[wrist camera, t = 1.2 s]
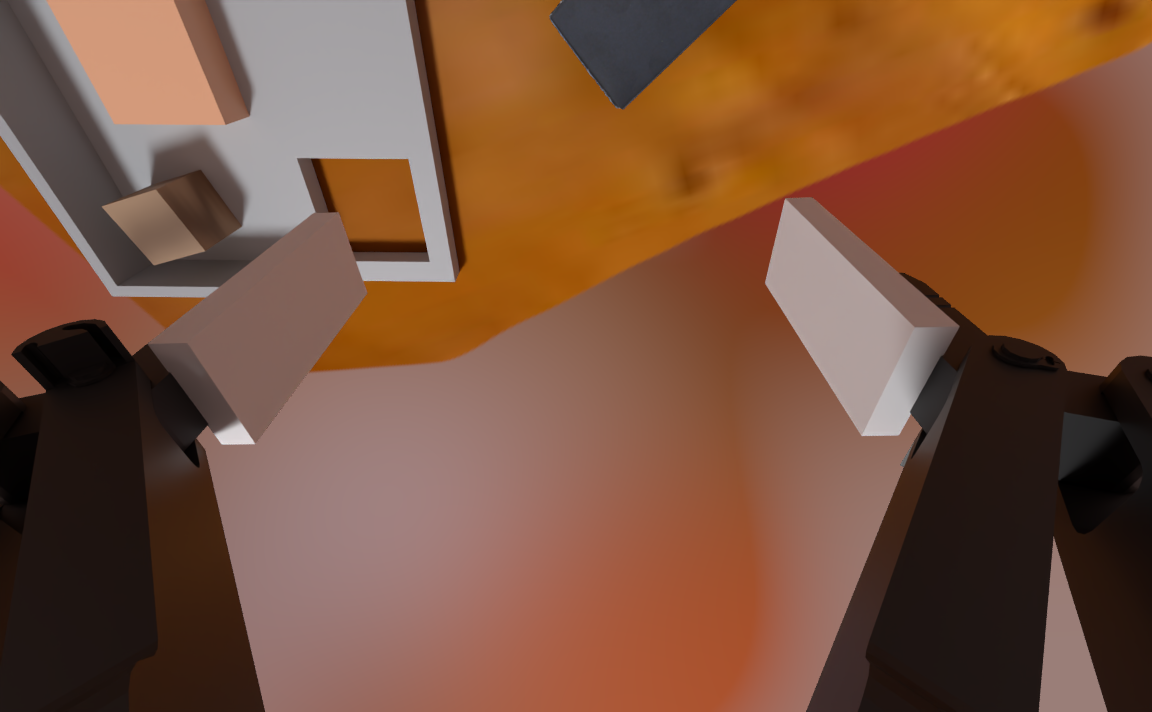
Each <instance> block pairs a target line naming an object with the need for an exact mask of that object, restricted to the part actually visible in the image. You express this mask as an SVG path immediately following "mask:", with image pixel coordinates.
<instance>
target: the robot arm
mask: <svg viewBox="0 0 1152 712" xmlns="http://www.w3.org/2000/svg"><path fill="white" fill-rule="evenodd" d="M765 284H766V285H767V287H768V288H769V290H770V292H771V293H772V295H773V296H774V298H775V299H776V301H777V303H778V304H779V306H780V308H781V309H782V311H783V312H784V314H785V315H786V317H787V319H788V320H789V322H790V323H791V325H792V326H793V328H794V330H795V331H796V333H797V334H798V336H799V338H800V339H801V341H802V342H803V344H804V346H805V347H806V349H807V350H808V352H809V353H810V355H811V357H812V358H813V360H814V361H815V363H816V364H817V366H818V368H819V369H820V371H821V372H822V374H823V376H824V377H825V379H826V380H827V382H828V383H829V385H830V387H831V388H832V390H833V391H834V393H835V395H836V396H837V397H838V399H839V401H840V402H841V404H842V406H843V407H844V409H845V410H846V412H847V414H848V415H849V417H850V418H851V420H852V421H853V423H854V425H855V426H856V428H857V429H858V431H859V432H860V434H861V436H883V435H884V436H888V435H899V434H900V432H901V431H902V428H903V427H904V425H905V423H906V422H907V419H908V418H909V416H910V414H912V416H913V417H914V418H915V419H916V421H917V422H918V423H919V425H920V426H921V427H922V429H921V431H920V432H919V434H918V436H917V438H916V439H915V441H914V442H913V444H912V446H911V447H910V449H909V451H908V453H907V454H906V456H905V458H904V459H903V461H902V463H901V464H900V465H901V466H903V467H904V468H903V471H902V473H901V476H900V478H899V481H898V484H897V486H896V488H895V491H894V493H893V496H892V498H891V501H890V503H889V506H888V508H887V511H886V513H885V516H884V518H883V521H882V523H881V526H880V528H879V531H878V533H877V536H876V538H875V541H874V543H873V546H872V548H871V551H870V553H869V556H868V558H867V561H866V563H865V566H864V568H863V571H862V573H861V576H860V578H859V581H858V583H857V586H856V588H855V591H854V593H853V596H852V598H851V601H850V603H849V606H848V608H847V611H846V613H845V616H844V618H843V621H842V623H841V626H840V628H839V631H838V633H837V636H836V638H835V641H834V643H833V646H832V648H831V651H830V654H829V656H828V658H827V661H826V663H825V666H824V668H823V671H822V673H821V676H820V678H819V681H818V683H817V686H816V688H815V691H814V693H813V696H812V698H811V701H810V703H809V706H808V708H807V711H806V712H1039V701H1040V688H1041V677H1042V665H1043V653H1044V642H1045V630H1046V618H1047V606H1048V595H1049V583H1050V571H1051V559H1052V548H1053V536H1054V539H1055V542H1056V545H1057V549H1058V552H1059V555H1060V558H1061V562H1062V565H1063V568H1064V571H1065V575H1066V578H1067V581H1068V584H1069V588H1070V591H1071V594H1072V597H1073V601H1074V604H1075V607H1076V610H1077V614H1078V617H1079V620H1080V623H1081V626H1082V630H1083V633H1084V636H1085V640H1086V643H1087V646H1088V650H1089V652H1090V656H1091V659H1092V663H1093V666H1094V669H1095V672H1096V675H1097V679H1098V682H1099V685H1100V688H1101V692H1102V695H1103V698H1104V702H1105V705H1106V708H1107V711H1108V712H1152V357H1147V356H1133V357H1127V358H1125V359H1124V360H1122V361H1121V362H1120V363H1119V364H1118V365H1117V367H1116V368H1115V369H1114V370H1113V371H1112V372H1111V373H1110V375H1109V376H1108V377H1104V376H1097V375H1091V374H1085V373H1078V372H1072V371H1067V369H1066V366H1065V364H1064V363H1063V362H1062V361H1061V360H1060V359H1059V358H1058V357H1057V356H1056V355H1054V354H1053V353H1051V352H1049V351H1048V350H1046V349H1044V348H1042V347H1040V346H1038V345H1035V344H1033V343H1030V342H1027V341H1024V340H1021V339H1016V338H1012V337H1007V336H993V335H989V336H987V335H986V334H985V333H984V332H982V331H981V330H980V329H979V328H978V327H977V326H976V325H974V324H973V323H972V322H971V321H970V320H968V319H967V318H966V317H965V316H964V315H962V314H961V313H960V312H959V311H957V310H956V309H955V308H951V305H950V304H949V303H948V302H947V301H946V300H944V299H943V298H941V297H939V295H938V294H937V293H936V292H935V291H934V290H932V289H931V288H930V287H929V286H928V285H927V284H925V283H923V282H922V281H919V280H917V279H915V278H913V277H911V276H909V275H907V274H905V273H898V272H897V271H896V270H894V268H892V267H891V266H890V265H889V264H888V263H887V262H885V261H884V260H883V259H882V258H881V257H880V256H879V255H878V254H876V253H875V252H874V251H873V250H872V249H871V248H870V247H868V246H867V245H866V244H865V243H864V242H863V241H862V240H860V239H859V238H858V237H857V236H856V235H855V234H853V233H852V232H851V231H850V230H849V229H848V228H847V227H845V226H844V225H843V224H842V223H841V222H840V221H839V220H837V219H836V218H835V217H834V216H833V215H832V214H831V213H829V212H828V211H827V210H826V209H825V208H824V207H823V206H821V205H820V204H819V203H818V202H817V201H816V200H815V199H813V198H785V202H784V206H783V210H782V214H781V219H780V223H779V227H778V231H777V235H776V240H775V244H774V248H773V253H772V256H771V261H770V265H769V269H768V273H767V278H766V282H765ZM366 294H367V291H366V288H365V285H364V283H363V280H362V277H361V274H360V271H359V269H358V266H357V263H356V260H355V257H354V254H353V252H352V249H351V246H350V243H349V240H348V238H347V235H346V232H345V229H344V226H343V223H342V221H341V218H340V215H339V212H332V213H313V214H312V215H310V216H309V217H308V218H307V219H305V220H304V221H303V222H301V223H300V224H299V225H298V226H296V227H295V228H294V229H293V230H291V231H290V232H289V233H287V234H286V235H285V236H284V237H282V238H281V239H280V240H279V241H277V242H276V243H275V244H273V245H272V246H271V247H270V248H268V249H267V250H266V251H265V252H263V253H262V254H261V255H260V256H258V257H257V258H256V259H254V260H253V261H252V262H251V263H249V264H248V265H247V266H246V267H244V268H243V269H242V270H240V271H239V272H238V273H237V274H235V275H234V276H233V277H232V278H230V279H229V280H228V281H226V282H225V283H224V284H223V285H221V286H220V287H219V288H218V289H216V290H215V291H214V292H213V293H211V294H210V295H209V296H207V297H206V298H205V299H204V300H202V301H201V302H200V303H199V304H197V305H196V306H195V307H193V308H192V309H191V310H190V311H188V312H187V313H186V314H185V315H183V316H182V317H181V318H179V319H178V320H177V321H176V322H174V323H173V324H172V325H171V326H169V327H168V328H167V329H166V330H164V331H163V332H162V333H160V334H159V335H158V336H157V337H155V338H154V339H153V340H152V341H150V342H149V343H148V344H147V345H145V346H144V347H143V348H142V349H140V350H139V351H138V352H136V353H135V354H134V355H133V356H131V354H130V353H129V352H128V350H127V349H126V348H125V347H124V345H123V344H122V343H121V342H120V340H119V339H118V338H117V336H116V335H115V334H114V333H113V331H112V330H111V329H110V328H109V326H108V325H107V324H106V322H105V321H102V320H96V319H93V320H80V321H76V322H72V323H67V324H63V325H60V326H57V327H54V328H51V329H49V330H46V331H44V332H41V333H39V334H37V335H35V336H33V337H31V338H29V339H27V340H26V341H25V342H23V343H22V344H20V345H19V346H17V347H16V349H15V350H14V351H13V353H12V356H13V357H14V358H15V359H16V360H17V361H18V362H19V363H20V364H21V365H22V366H23V367H24V368H25V369H26V370H27V371H28V372H29V373H30V374H31V375H32V376H33V377H34V378H35V379H36V380H37V381H38V382H39V383H40V384H41V385H42V386H43V388H44V389H45V390H46V393H43V394H38V395H33V396H28V397H23V398H18V397H17V396H16V395H15V394H13V392H12V391H10V390H9V389H8V388H7V387H6V386H5V385H4V384H3V383H2V382H1V381H0V712H265V709H264V705H263V700H262V696H261V692H260V687H259V683H258V678H257V674H256V670H255V665H254V661H253V657H252V652H251V648H250V643H249V640H248V635H247V630H246V626H245V622H244V617H243V613H242V608H241V604H240V600H239V596H238V591H237V587H236V582H235V578H234V573H233V569H232V565H231V561H230V556H229V552H228V547H227V543H226V539H225V535H224V530H223V526H222V521H221V517H220V512H219V508H218V504H217V500H216V495H215V491H214V487H213V482H212V477H211V473H210V469H209V464H208V460H207V456H206V451H205V449H204V448H203V446H202V445H201V444H200V443H199V441H198V440H197V439H196V438H197V437H198V435H199V434H200V433H201V432H202V431H203V430H204V429H205V427H206V426H207V425H208V426H209V428H210V429H211V430H212V432H213V433H214V434H215V436H216V437H217V439H218V440H219V441H220V443H221V444H256V443H257V441H258V440H259V438H260V437H261V436H262V435H263V433H264V432H265V430H266V429H267V428H268V426H269V425H270V424H271V422H272V421H273V420H274V418H275V417H276V416H277V414H278V413H279V411H280V410H281V409H282V407H283V406H284V405H285V403H286V402H287V401H288V399H289V398H290V397H291V395H292V394H293V393H294V391H295V390H296V389H297V387H298V386H299V385H300V383H301V382H302V381H303V379H304V378H305V376H306V375H307V374H308V372H309V371H310V370H311V368H312V367H313V366H314V364H315V363H316V362H317V360H318V359H319V358H320V356H321V355H322V354H323V352H324V351H325V350H326V348H327V347H328V345H329V344H330V343H331V341H332V340H333V339H334V337H335V336H336V335H337V333H338V332H339V331H340V329H341V328H342V327H343V325H344V324H345V323H346V321H347V320H348V319H349V317H350V316H351V314H352V313H353V312H354V310H355V309H356V308H357V306H358V305H359V304H360V302H361V301H362V300H363V298H364V297H365V296H366Z"/></svg>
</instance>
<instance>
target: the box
mask: <svg viewBox="0 0 1152 712" xmlns="http://www.w3.org/2000/svg"><path fill="white" fill-rule="evenodd" d="M735 1H737V0H562V1H561V2H560V3H559V4H558V6H557V7H556V8H555V9H554V11H553V12H552V13H551V14H550V20H551V22H552V23H553V25H554V26H555V27H556V28H557V30H558V32H559V33H560V35H561V36H562V37H563V38H564V40H565V41H566V42H567V43H568V45H569V46H570V48H571V49H572V50H573V51H574V53H575V55H576V56H577V57H578V58H579V60H580V61H581V63H582V64H583V65H584V66H585V68H586V69H587V71H588V72H589V74H590V75H591V76H592V77H593V78H594V79H595V81H596V82H597V84H598V85H599V86H600V88H601V90H602V91H603V92H604V93H605V95H606V96H607V97H608V98H609V100H610V102H612V103H613V104H614V106H615V107H616V108H621V109H625V107H626V106H627V105H628V104H630V103H631V102H632V101H633V100H634V99H635V98H636V97H637V96H638V95H639V94H640V93H641V92H642V91H643V90H644V89H645V88H646V87H647V86H648V85H649V84H650V83H651V82H652V81H653V80H654V79H655V78H656V77H658V76H659V75H660V74H661V73H662V72H663V71H664V70H665V69H666V68H667V67H668V66H669V65H670V64H671V63H672V62H673V61H674V60H675V59H676V58H677V57H678V56H679V55H680V54H682V53H683V51H684V50H686V49H687V48H688V47H689V46H690V45H691V44H692V43H693V42H694V41H695V40H696V39H697V38H698V37H699V36H700V35H701V34H702V33H703V32H704V31H706V29H707V28H708V27H709V26H710V25H712V24H713V23H714V22H715V21H716V20H717V19H718V18H719V17H720V16H721V15H722V14H723V13H724V12H725V11H726V10H727V9H728V8H729V7H730V6H731V5H732V4H733V3H734V2H735Z"/></svg>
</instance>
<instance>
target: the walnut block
mask: <svg viewBox="0 0 1152 712" xmlns="http://www.w3.org/2000/svg"><path fill="white" fill-rule="evenodd" d="M101 207H102V208H103V209H104V210H105V211H106V212H107V213H108V214H109V216H110V217H111V218H112V219H113V220H114V221H115V222H116V223H117V224H118V226H119V227H120V228H121V229H122V230H123V231H124V232H125V233H126V235H127V236H128V237H129V238H130V239H131V240H132V241H133V242H134V243H135V245H136V246H137V247H138V248H139V249H140V250H141V251H142V252H143V254H144V255H145V256H146V257H147V258H148V259H149V260H150V261H151V263H152V264H153V265H157V264H161V263H165V262H168V261H172V260H175V259H179V258H183V257H186V256H190V255H193V254H197V253H201V252H204V251H206V250H208V249H209V248H211V247H212V246H214V245H215V244H217V243H218V242H220V241H221V240H223V239H224V238H226V237H227V236H229V235H230V234H232V233H233V232H235V231H236V230H238V229H239V228H241V227H242V226H241V224H240V223H239V221H238V220H237V219H236V217H235V216H234V215H233V213H232V212H231V210H230V209H229V208H228V206H227V205H226V204H225V202H224V201H223V200H222V198H221V197H220V195H219V194H218V193H217V191H216V190H215V189H214V187H213V186H212V184H211V183H210V182H209V180H208V179H207V178H206V176H205V175H204V173H203V172H202V171H201V170H198V171H194V172H191V173H188V174H185V175H182V176H179V177H175V178H172V179H169V180H166V181H163V182H160V183H156V184H153V185H150V186H148V187H146V188H143V189H141V190H139V191H136V192H134V193H132V194H129V195H127V196H125V197H122V198H120V199H118V200H115V201H113V202H111V203H108V204H106V205H104V206H101Z"/></svg>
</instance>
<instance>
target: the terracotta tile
mask: <svg viewBox="0 0 1152 712" xmlns="http://www.w3.org/2000/svg"><path fill="white" fill-rule="evenodd" d="M46 1H47V3H48V5H49V6H50V8H51V10H52V12H53V14H54V15H55V17H56V19H57V21H58V23H59V24H60V26H61V28H62V30H63V32H64V34H65V35H66V37H67V39H68V41H69V43H70V44H71V46H72V48H73V50H74V52H75V54H76V55H77V57H78V59H79V61H80V63H81V64H82V66H83V68H84V70H85V72H86V73H87V75H88V77H89V79H90V81H91V83H92V84H93V86H94V88H95V90H96V92H97V93H98V95H99V97H100V99H101V101H102V103H103V104H104V106H105V108H106V110H107V112H108V113H109V115H110V117H111V119H112V121H113V123H114V124H146V125H227V124H230V123H233V122H236V121H238V120H241V119H244V118H247V117H250V116H249V113H248V111H247V108H246V105H245V103H244V100H243V98H242V95H241V92H240V90H239V87H238V85H237V82H236V79H235V77H234V74H233V72H232V69H231V66H230V64H229V61H228V59H227V56H226V53H225V51H224V48H223V46H222V43H221V40H220V38H219V35H218V33H217V30H216V27H215V25H214V22H213V20H212V17H211V14H210V12H209V9H208V7H207V4H206V1H205V0H46Z"/></svg>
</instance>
